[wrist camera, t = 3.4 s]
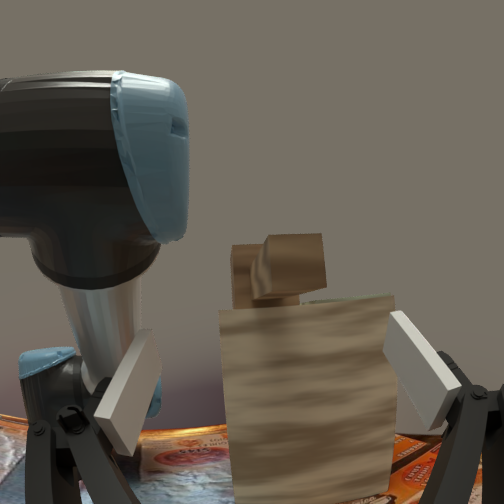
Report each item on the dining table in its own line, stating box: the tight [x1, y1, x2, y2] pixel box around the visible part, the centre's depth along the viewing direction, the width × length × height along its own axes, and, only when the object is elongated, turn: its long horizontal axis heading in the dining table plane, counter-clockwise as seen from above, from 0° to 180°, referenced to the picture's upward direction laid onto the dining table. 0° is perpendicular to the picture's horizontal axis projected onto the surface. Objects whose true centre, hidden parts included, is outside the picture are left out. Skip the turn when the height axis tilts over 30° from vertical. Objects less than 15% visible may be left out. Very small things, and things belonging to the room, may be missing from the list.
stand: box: [219, 293, 397, 504], centre depth 40 cm, size 18×22×30 cm
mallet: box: [230, 233, 327, 310], centre depth 34 cm, size 26×8×8 cm, turn 5°
